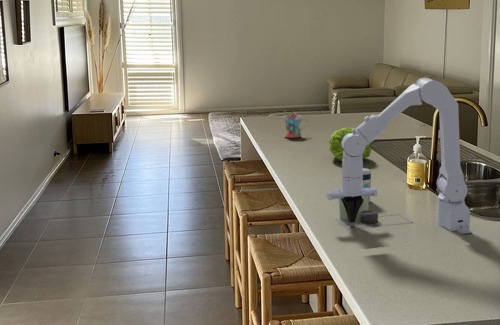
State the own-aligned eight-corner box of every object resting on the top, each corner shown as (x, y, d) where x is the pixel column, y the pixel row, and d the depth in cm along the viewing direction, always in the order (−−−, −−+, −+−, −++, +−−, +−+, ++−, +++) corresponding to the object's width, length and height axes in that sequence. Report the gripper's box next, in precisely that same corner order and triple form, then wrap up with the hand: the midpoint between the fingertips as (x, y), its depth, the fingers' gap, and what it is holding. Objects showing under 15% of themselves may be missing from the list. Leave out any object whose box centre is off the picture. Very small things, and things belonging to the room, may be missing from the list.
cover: (367, 193, 194) (366, 192, 195) (339, 195, 192) (337, 195, 193) (368, 216, 194) (367, 215, 196) (340, 219, 192) (338, 218, 194)
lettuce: (360, 153, 289) (355, 121, 287) (377, 159, 265) (371, 124, 263) (323, 161, 287) (317, 129, 285) (336, 167, 263) (330, 132, 261)
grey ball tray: (413, 227, 188) (413, 221, 188) (346, 234, 184) (346, 227, 183) (399, 218, 197) (399, 212, 196) (335, 224, 192) (335, 218, 192)
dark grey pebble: (380, 223, 188) (380, 214, 188) (364, 224, 187) (364, 216, 187) (373, 217, 193) (373, 209, 192) (357, 219, 192) (357, 211, 191)
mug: (284, 139, 319) (284, 117, 317) (282, 135, 328) (282, 114, 326) (308, 138, 320) (308, 117, 318) (306, 135, 329) (306, 114, 327)
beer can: (359, 202, 214) (360, 167, 211) (372, 204, 211) (373, 169, 208) (352, 205, 210) (353, 169, 207) (365, 208, 207) (366, 172, 204)
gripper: (370, 170, 189) (369, 215, 192) (323, 174, 186) (322, 219, 189) (380, 176, 183) (379, 222, 186) (331, 180, 179) (331, 227, 183)
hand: (351, 221), depth 187 cm, fingers closed
